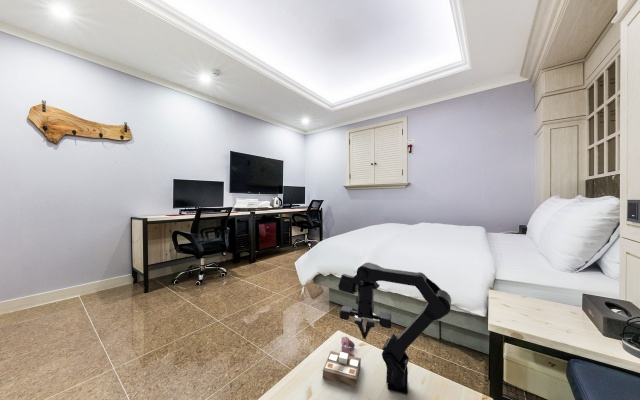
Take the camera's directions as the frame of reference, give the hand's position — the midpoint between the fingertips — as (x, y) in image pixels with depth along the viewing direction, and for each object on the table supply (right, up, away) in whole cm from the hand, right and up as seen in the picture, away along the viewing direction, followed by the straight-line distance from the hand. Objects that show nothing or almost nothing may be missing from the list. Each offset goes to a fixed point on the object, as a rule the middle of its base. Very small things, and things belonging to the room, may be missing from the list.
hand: (364, 338), depth 85 cm
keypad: (-9, -12, -1) cm, 15 cm away
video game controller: (-5, -12, +8) cm, 15 cm away
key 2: (-4, -11, -1) cm, 12 cm away
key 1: (-12, -11, +2) cm, 16 cm away
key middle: (-8, -9, +1) cm, 12 cm away
